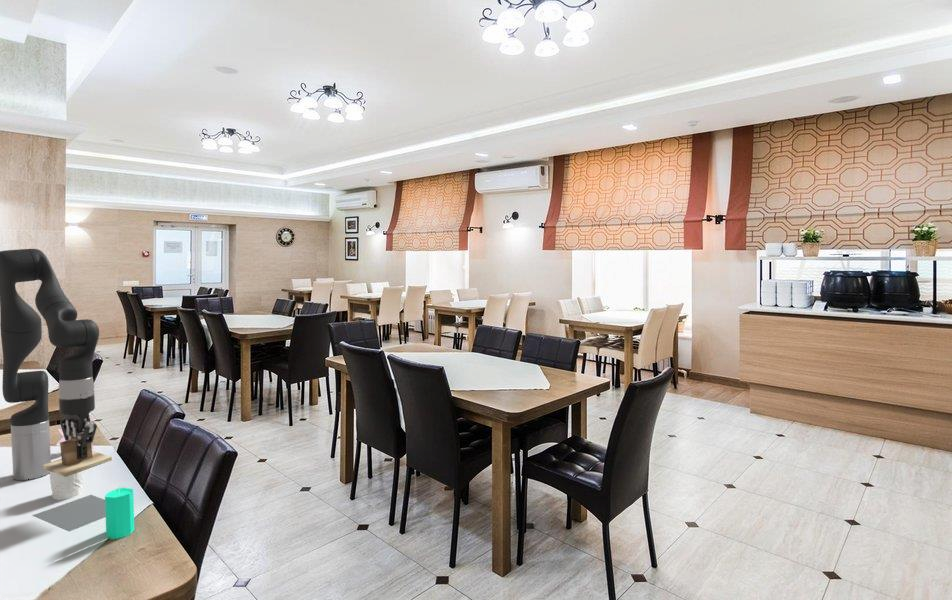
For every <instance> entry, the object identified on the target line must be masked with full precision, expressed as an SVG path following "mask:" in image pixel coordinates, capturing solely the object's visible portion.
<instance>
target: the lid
mask: <svg viewBox="0 0 952 600" xmlns="http://www.w3.org/2000/svg"><path fill="white" fill-rule="evenodd" d="M80 441H81V438H80ZM91 445H92V443H89V444H87V454H88V456H87V458H84V459H81V460H79V459H77V444H76V438H73V439H70V440H67V441H64V442H60V446H59V447H60V457H61V458H60V459H57V460H54V461H51V462H50V463H47V464H44V465H43V469H45V470H48V471H51V472H53V473H56V474H59V475H62V476H64V477H67V476H70V475H73V474H75V473H78V472H81V471H83V472H84V471H86V470H89V469H92V468H95V467H97V466H100V465H102V464H103V465H104V464H106V463H108V462H112V461H113V460H112V459H113V457H112V456H110V455H107V454H104V453H101V452H98V451H96V450H95V451H94V450H93V449H92V446H93V445H92V446H91Z"/></svg>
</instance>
